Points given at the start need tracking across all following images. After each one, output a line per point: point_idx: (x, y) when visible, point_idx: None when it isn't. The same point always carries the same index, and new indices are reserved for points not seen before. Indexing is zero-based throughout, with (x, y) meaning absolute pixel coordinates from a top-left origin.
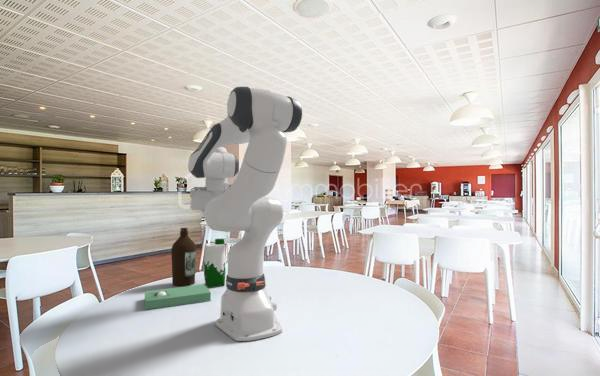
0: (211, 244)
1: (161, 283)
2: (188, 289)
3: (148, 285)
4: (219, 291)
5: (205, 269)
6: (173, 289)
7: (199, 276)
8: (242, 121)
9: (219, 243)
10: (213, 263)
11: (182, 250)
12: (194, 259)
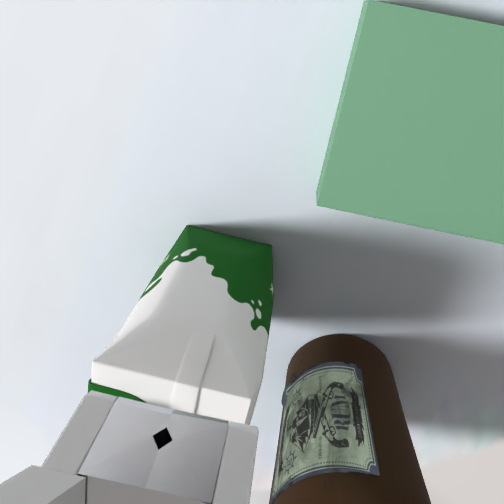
0: None
1: (415, 438)
2: (437, 156)
3: (475, 443)
4: (249, 143)
5: (269, 314)
6: (500, 209)
7: None
8: None
9: None
10: (227, 295)
11: (396, 494)
12: (298, 436)
